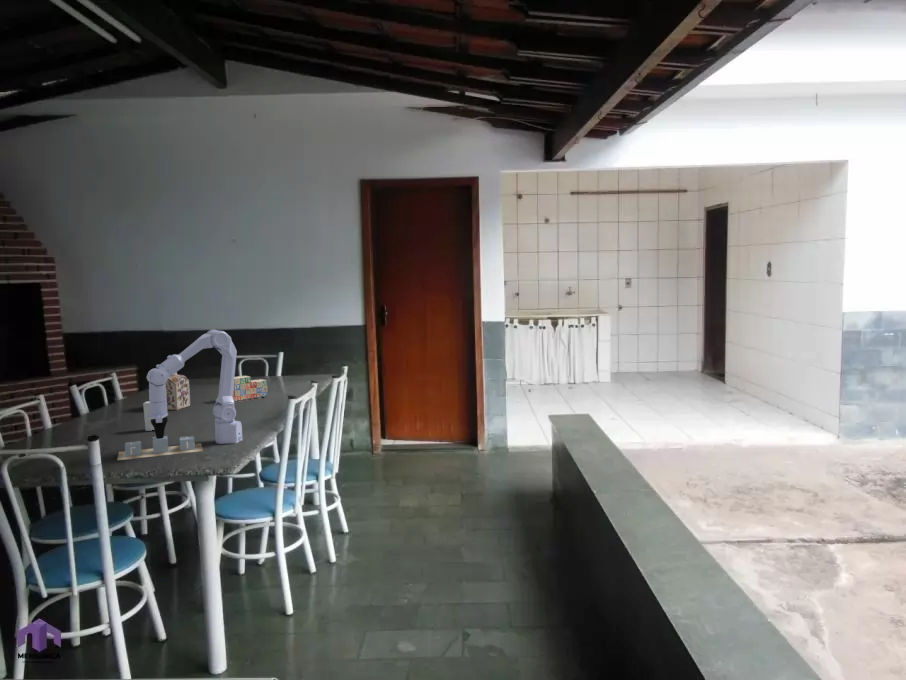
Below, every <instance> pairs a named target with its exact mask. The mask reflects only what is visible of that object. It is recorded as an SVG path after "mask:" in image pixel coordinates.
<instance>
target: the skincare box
mask: <svg viewBox="0 0 906 680" xmlns="http://www.w3.org/2000/svg"><path fill="white" fill-rule="evenodd" d="M142 406H143V416H144V417H143V418H144V427H145V428H144V429H145V432H149V431H151V432H153V431H152V430H154V427H153V425H152V424H151V419H154V418H152V417H147V414H150V400H149V401H145V402H143V404H142Z"/></svg>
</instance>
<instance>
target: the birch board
mask: <svg viewBox="0 0 906 680" xmlns="http://www.w3.org/2000/svg"><path fill="white" fill-rule="evenodd" d="M197 452H203V446H202V443H195V449H194V450H184V451H180V445H174V446H173V445H172V446H168V452H166V453H157V454H153V447H152V448H145V449H144V448H143V449H142V448H141V455H139V456H130V457H126V456H125V450H124V451H118V455H117V458H116V460H117V461H124V460H135V459H143V458H144V459H145V458H150V457H151V458H152V457H160V456H168V455H178V454H179V455H180V454H188V453H197Z"/></svg>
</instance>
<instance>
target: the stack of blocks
mask: <svg viewBox="0 0 906 680" xmlns="http://www.w3.org/2000/svg"><path fill="white" fill-rule="evenodd" d="M268 393H269V392H268V380H267V379H263V378H262V379H252V377H251V376H249V375H239V376H238V375H237V376H234V387H233V400H234V401H237V400H243V399H248V398H254V397H260V396H265V395H268ZM268 396H269V395H268Z"/></svg>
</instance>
